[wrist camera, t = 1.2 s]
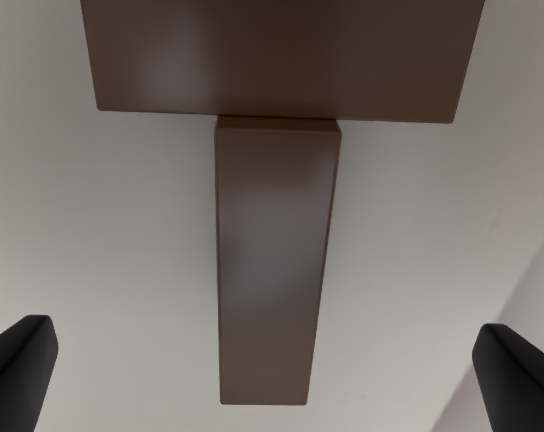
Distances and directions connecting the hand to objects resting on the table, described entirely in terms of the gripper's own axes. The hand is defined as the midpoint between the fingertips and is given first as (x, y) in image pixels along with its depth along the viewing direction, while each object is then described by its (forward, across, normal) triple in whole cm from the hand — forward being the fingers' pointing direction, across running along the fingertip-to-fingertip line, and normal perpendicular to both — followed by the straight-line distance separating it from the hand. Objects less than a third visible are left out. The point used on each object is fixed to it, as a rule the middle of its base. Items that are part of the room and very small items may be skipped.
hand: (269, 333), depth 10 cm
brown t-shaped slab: (+5, 0, -3) cm, 6 cm away
